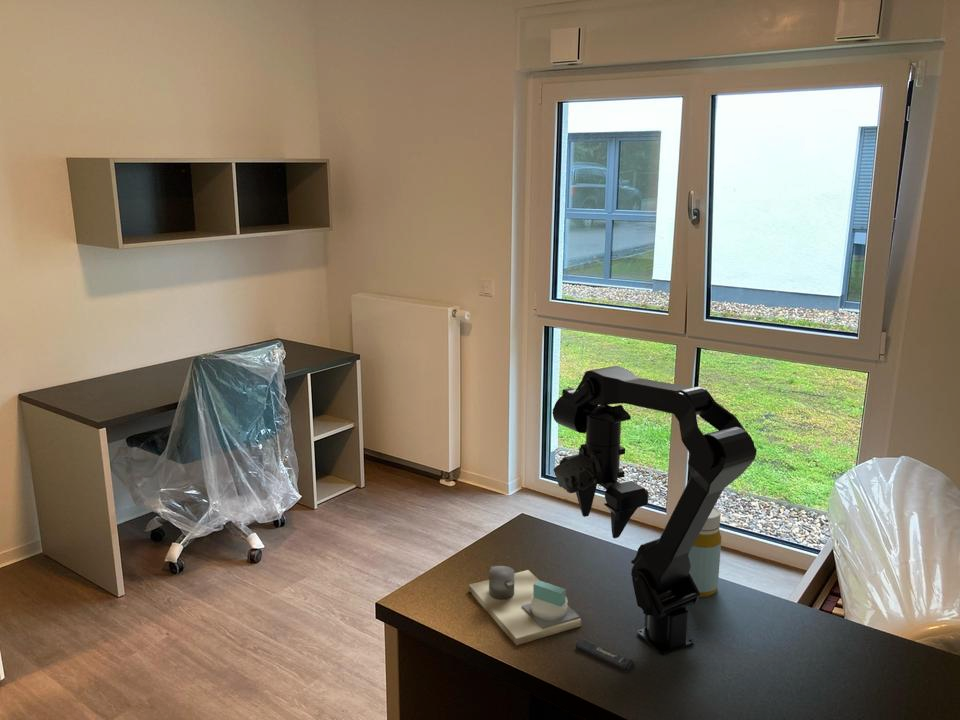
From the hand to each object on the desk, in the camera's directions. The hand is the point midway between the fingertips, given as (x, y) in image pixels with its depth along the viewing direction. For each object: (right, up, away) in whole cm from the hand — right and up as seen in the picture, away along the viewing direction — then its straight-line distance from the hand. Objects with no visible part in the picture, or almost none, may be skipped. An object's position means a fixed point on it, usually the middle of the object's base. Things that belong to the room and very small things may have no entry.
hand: (600, 526), depth 133 cm
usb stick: (-2, -18, -14) cm, 23 cm away
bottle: (+18, -12, +5) cm, 22 cm away
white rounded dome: (-9, -13, -4) cm, 17 cm away
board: (-13, -14, -1) cm, 19 cm away
